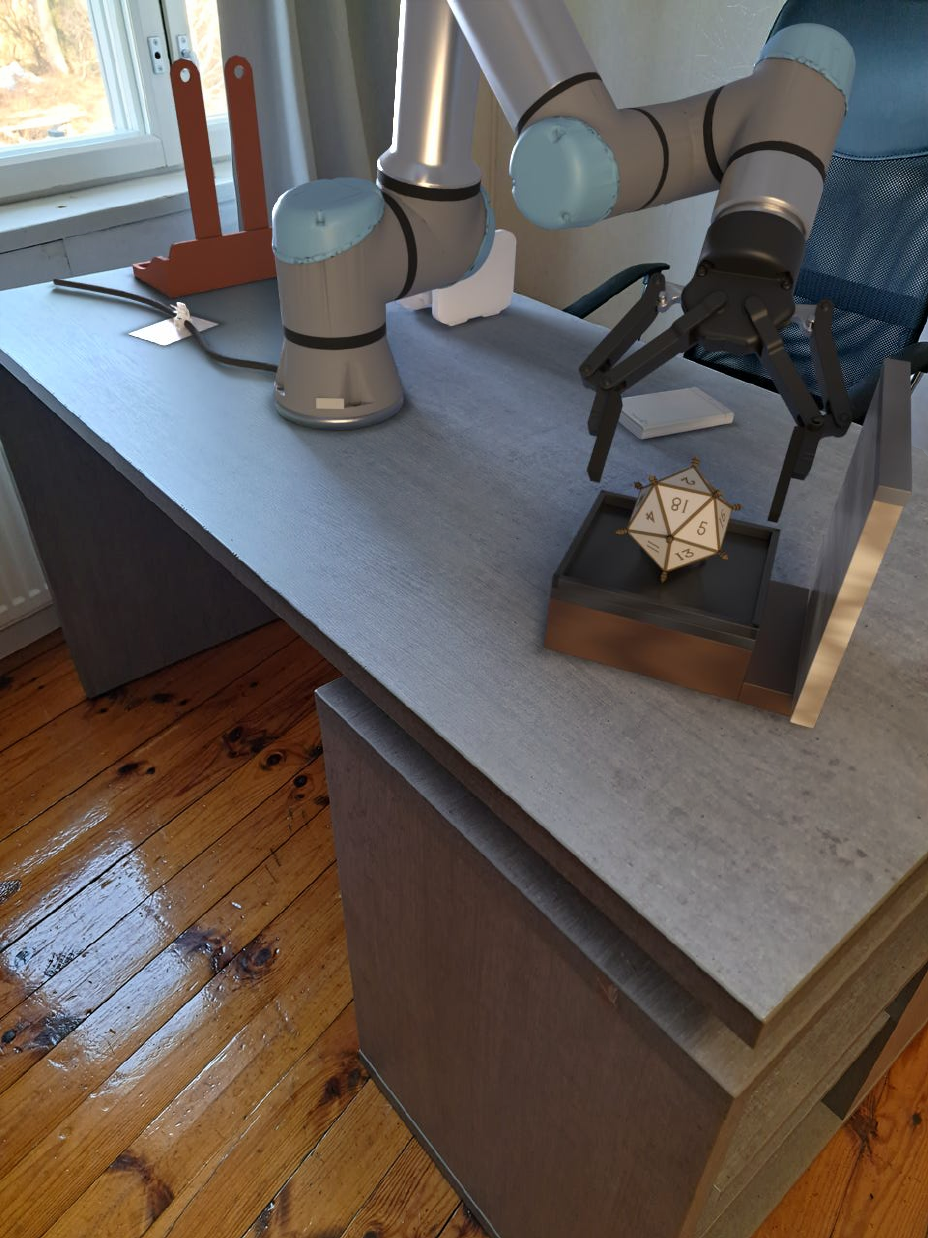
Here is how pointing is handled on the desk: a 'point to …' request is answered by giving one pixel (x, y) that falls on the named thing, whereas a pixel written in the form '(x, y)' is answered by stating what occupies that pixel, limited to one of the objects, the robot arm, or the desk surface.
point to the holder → (741, 585)
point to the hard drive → (672, 412)
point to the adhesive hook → (173, 327)
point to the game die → (680, 519)
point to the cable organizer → (474, 287)
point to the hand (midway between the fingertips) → (680, 497)
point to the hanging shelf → (211, 252)
